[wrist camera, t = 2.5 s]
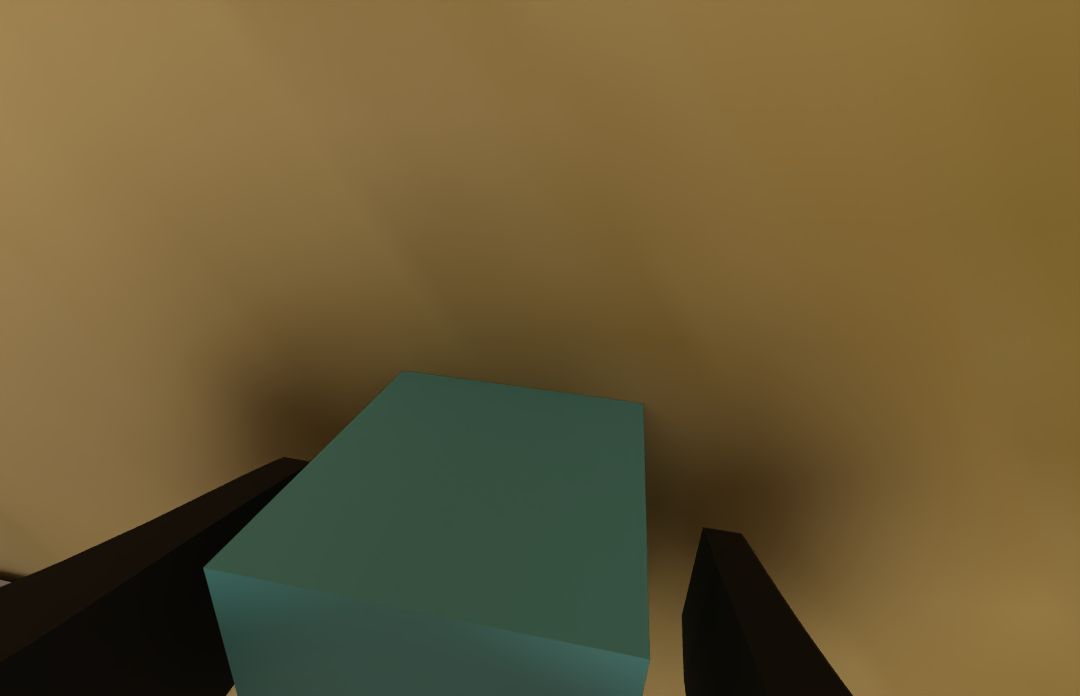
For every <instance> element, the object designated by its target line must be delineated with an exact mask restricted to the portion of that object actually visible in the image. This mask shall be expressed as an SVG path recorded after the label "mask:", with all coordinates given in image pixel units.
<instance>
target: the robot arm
mask: <svg viewBox="0 0 1080 696" xmlns="http://www.w3.org/2000/svg"><path fill="white" fill-rule="evenodd" d="M309 463H310V462H309V461H303V460H297V459H291V458H285V457H283V458H281V459H278V460H276V461H273V462H271V463H269V464H267V465H264V466H262V467H260V468H258V469H256V470H254V471H251V472H249V473H247V474H245V475H243V476H241V477H239V478H237V479H235V480H233V481H231V482H229V483H227V484H225V485H223V486H221V487H219V488H217V489H214V490H212V491H210V492H208V493H206V494H204V495H202V496H200V497H198V498H196V499H194V500H192V501H190V502H188V503H186V504H184V505H182V506H180V507H178V508H176V509H174V510H172V511H170V512H168V513H165V514H163V515H161V516H159V517H157V518H155V519H153V520H151V521H149V522H147V523H145V524H143V525H141V526H138V527H136V528H134V529H132V530H130V531H127V532H125V533H123V534H121V535H119V536H116V537H114V538H112V539H110V540H108V541H105V542H103V543H101V544H99V545H97V546H94V547H92V548H90V549H88V550H86V551H84V552H81V553H79V554H77V555H75V556H73V557H70V558H68V559H66V560H64V561H61V562H59V563H57V564H54V565H52V566H50V567H47V568H45V569H43V570H40V571H38V572H36V573H33V574H31V575H28V576H26V577H23V578H21V579H19V580H16V581H14V582H8V581H4V580H0V696H226V695H227V694H228V692H229V691H230V690H231V688H232V687H233V685H234V680H233V677H232V673H231V669H230V665H229V662H228V658H227V654H226V651H225V647H224V643H223V639H222V636H221V632H220V628H219V624H218V621H217V617H216V613H215V610H214V606H213V602H212V598H211V595H210V591H209V587H208V583H207V580H206V576H205V572H204V567H205V566H206V565H207V564H208V563H209V562H210V561H211V560H212V559H213V558H214V557H215V556H216V555H217V554H218V553H219V552H220V551H221V550H222V549H223V548H224V547H225V546H226V545H227V544H228V543H229V542H230V541H231V540H232V539H233V538H234V537H235V536H236V535H237V534H238V533H239V532H240V531H241V530H242V529H243V528H244V527H245V526H246V525H247V524H248V523H249V522H250V521H251V520H252V519H253V518H254V517H255V516H256V515H257V514H258V513H259V512H260V511H261V510H262V509H263V508H264V507H265V506H266V505H267V504H268V503H269V502H270V501H271V500H272V499H273V498H274V497H275V496H276V495H277V494H278V493H279V492H281V491H282V490H283V489H284V488H285V487H286V486H287V485H288V484H289V483H290V482H291V481H292V480H293V479H294V478H295V477H296V476H297V475H298V474H299V473H300V472H301V471H302V470H303V469H304V468H305V467H306V466H307V465H308V464H309ZM682 638H683V666H684V684H685V692H686V696H853V695H852V694H851V692H850V691H849V690H848V688H847V687H846V686H845V684H844V683H843V682H842V680H841V679H840V678H839V676H838V675H837V673H836V672H835V671H834V669H833V668H832V666H831V665H830V664H829V662H828V661H827V659H826V658H825V657H824V655H823V654H822V652H821V651H820V650H819V648H818V647H817V645H816V644H815V643H814V641H813V640H812V638H811V637H810V636H809V634H808V633H807V631H806V630H805V629H804V627H803V626H802V624H801V623H800V621H799V620H798V618H797V617H796V615H795V614H794V612H793V611H792V609H791V608H790V606H789V605H788V603H787V602H786V600H785V599H784V597H783V596H782V594H781V593H780V591H779V590H778V588H777V587H776V585H775V584H774V582H773V581H772V579H771V578H770V576H769V575H768V573H767V572H766V570H765V568H764V567H763V565H762V564H761V562H760V561H759V559H758V558H757V556H756V554H755V553H754V551H753V550H752V548H751V547H750V545H749V544H748V542H747V541H746V539H745V538H744V537H743V535H742V534H740V533H734V532H728V531H722V530H716V529H710V528H704V527H703V529H702V534H701V538H700V542H699V546H698V550H697V554H696V559H695V563H694V567H693V571H692V575H691V579H690V584H689V588H688V592H687V596H686V600H685V604H684V609H683V613H682Z"/></svg>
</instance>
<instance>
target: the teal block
mask: <svg viewBox="0 0 1080 696" xmlns="http://www.w3.org/2000/svg"><path fill="white" fill-rule="evenodd" d="M204 572H205V576H206V580H207V583H208V587H209V591H210V595H211V598H212V602H213V606H214V610H215V613H216V617H217V621H218V624H219V628H220V632H221V636H222V639H223V643H224V647H225V651H226V654H227V658H228V662H229V665H230V669H231V673H232V677H233V680H234V684H235V688H236V692H237V695H238V696H642V694H643V689H644V685H645V680H646V675H647V671H648V666H649V661H650V644H649V605H648V566H647V527H646V488H645V449H644V410H643V403H636V402H629V401H621V400H614V399H607V398H599V397H592V396H585V395H577V394H570V393H563V392H555V391H548V390H541V389H533V388H526V387H519V386H511V385H504V384H497V383H489V382H482V381H475V380H467V379H460V378H453V377H446V376H438V375H431V374H424V373H416V372H409V371H402V372H401V373H400V374H399V375H398V376H397V377H396V378H395V379H394V380H393V381H392V382H391V383H390V384H389V385H388V386H387V387H386V388H385V389H384V390H383V391H382V392H381V393H380V394H379V395H378V396H377V397H376V398H375V399H374V400H373V401H372V402H371V403H370V404H369V405H368V406H367V407H365V408H364V409H363V410H362V411H361V412H360V413H359V414H358V415H357V416H356V417H355V418H354V419H353V420H352V421H351V422H350V423H349V424H348V425H347V426H346V427H345V428H344V429H343V430H342V431H341V432H340V433H339V434H338V435H337V436H336V437H335V438H334V439H333V440H332V441H331V442H330V443H329V444H328V445H327V446H326V447H325V448H324V449H323V450H322V451H321V452H320V453H319V454H318V455H317V456H316V457H315V458H314V459H313V460H312V461H311V462H310V463H309V464H308V465H307V466H306V467H305V468H304V469H303V470H302V471H301V472H300V473H299V474H298V475H297V476H296V477H295V478H294V479H293V480H292V481H291V482H290V483H289V484H288V485H287V486H286V487H285V488H284V489H283V490H282V491H281V492H279V493H278V494H277V495H276V496H275V497H274V498H273V499H272V500H271V501H270V502H269V503H268V504H267V505H266V506H265V507H264V508H263V509H262V510H261V511H260V512H259V513H258V514H257V515H256V516H255V517H254V518H253V519H252V520H251V521H250V522H249V523H248V524H247V525H246V526H245V527H244V528H243V529H242V530H241V531H240V532H239V533H238V534H237V535H236V536H235V537H234V538H233V539H232V540H231V541H230V542H229V543H228V544H227V545H226V546H225V547H224V548H223V549H222V550H221V551H220V552H219V553H218V554H217V555H216V556H215V557H214V558H213V559H212V560H211V561H210V562H209V563H208V564H207V565H206V566H205V567H204Z"/></svg>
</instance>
